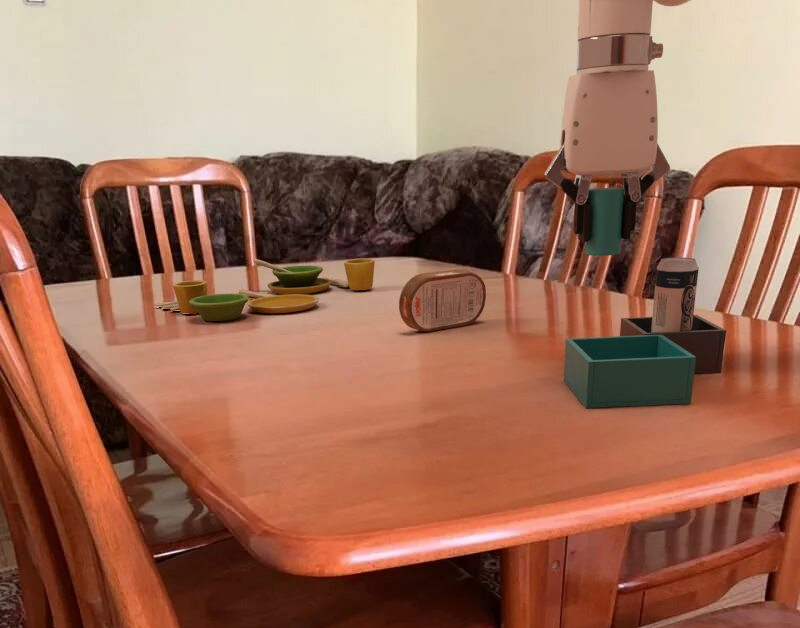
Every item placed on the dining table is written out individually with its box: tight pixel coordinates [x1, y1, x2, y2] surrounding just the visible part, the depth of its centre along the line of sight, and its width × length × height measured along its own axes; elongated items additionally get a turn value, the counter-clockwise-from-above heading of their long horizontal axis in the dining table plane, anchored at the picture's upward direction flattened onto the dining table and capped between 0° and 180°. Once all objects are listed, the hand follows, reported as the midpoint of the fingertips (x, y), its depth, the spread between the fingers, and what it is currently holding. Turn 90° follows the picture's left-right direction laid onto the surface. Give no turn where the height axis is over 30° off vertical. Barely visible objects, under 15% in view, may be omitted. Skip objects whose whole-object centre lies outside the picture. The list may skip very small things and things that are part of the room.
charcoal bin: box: [619, 314, 727, 375], centre depth 102 cm, size 10×10×5 cm
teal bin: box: [563, 334, 696, 409], centre depth 92 cm, size 11×11×5 cm
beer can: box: [651, 256, 700, 333], centre depth 100 cm, size 5×5×12 cm
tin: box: [398, 268, 487, 333], centre depth 126 cm, size 15×3×8 cm, turn 123°
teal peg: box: [585, 187, 624, 257], centre depth 95 cm, size 4×4×7 cm
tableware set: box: [154, 258, 376, 322], centre depth 154 cm, size 41×28×6 cm
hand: (603, 237), depth 96 cm, fingers closed on teal peg, 4 cm apart
